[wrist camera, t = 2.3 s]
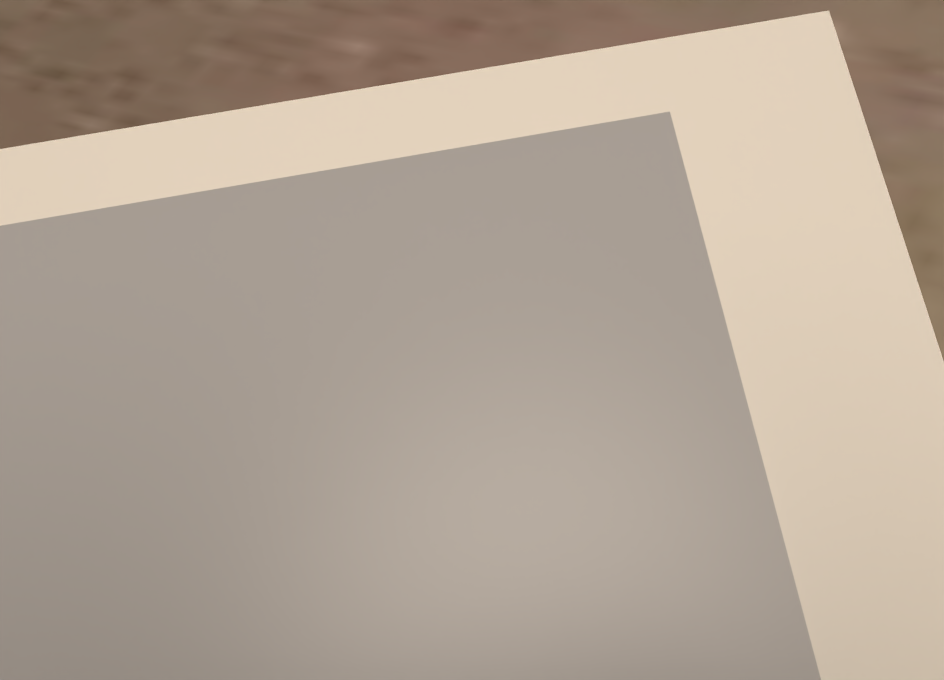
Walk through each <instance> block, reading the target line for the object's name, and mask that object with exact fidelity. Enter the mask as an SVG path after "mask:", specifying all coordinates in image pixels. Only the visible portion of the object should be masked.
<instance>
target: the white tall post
mask: <svg viewBox="0 0 944 680" xmlns="http://www.w3.org/2000/svg"><path fill="white" fill-rule="evenodd" d="M0 680H944V361H943V358H942V355H941V352H940V349H939V346H938V343H937V340H936V337H935V334H934V331H933V328H932V325H931V322H930V318H929V315H928V312H927V309H926V306H925V303H924V300H923V297H922V294H921V291H920V288H919V285H918V282H917V279H916V276H915V273H914V270H913V266H912V263H911V260H910V257H909V254H908V251H907V248H906V245H905V242H904V239H903V236H902V233H901V230H900V227H899V224H898V221H897V218H896V214H895V211H894V208H893V205H892V202H891V199H890V196H889V193H888V190H887V187H886V184H885V181H884V178H883V175H882V172H881V169H880V166H879V162H878V159H877V156H876V153H875V150H874V147H873V144H872V141H871V138H870V135H869V132H868V129H867V126H866V123H865V120H864V117H863V113H862V110H861V107H860V104H859V101H858V98H857V95H856V92H855V89H854V86H853V83H852V80H851V77H850V74H849V71H848V68H847V65H846V61H845V58H844V55H843V52H842V49H841V46H840V43H839V40H838V37H837V34H836V31H835V28H834V25H833V22H832V19H831V16H830V13H829V11H824V12H818V13H812V14H806V15H800V16H794V17H788V18H782V19H776V20H770V21H764V22H758V23H752V24H746V25H740V26H734V27H728V28H722V29H716V30H710V31H704V32H698V33H692V34H686V35H680V36H674V37H668V38H662V39H656V40H650V41H644V42H638V43H632V44H627V45H621V46H615V47H609V48H603V49H597V50H591V51H585V52H579V53H573V54H567V55H561V56H555V57H549V58H543V59H537V60H531V61H525V62H519V63H513V64H507V65H501V66H495V67H489V68H483V69H477V70H471V71H465V72H459V73H453V74H447V75H441V76H435V77H429V78H423V79H417V80H411V81H405V82H399V83H393V84H387V85H381V86H375V87H369V88H363V89H357V90H351V91H345V92H340V93H334V94H328V95H322V96H316V97H310V98H304V99H298V100H292V101H286V102H280V103H274V104H268V105H262V106H256V107H250V108H244V109H238V110H232V111H226V112H220V113H214V114H208V115H202V116H196V117H190V118H184V119H178V120H172V121H166V122H160V123H154V124H148V125H142V126H136V127H130V128H124V129H118V130H112V131H106V132H100V133H94V134H88V135H82V136H76V137H70V138H64V139H59V140H53V141H47V142H41V143H35V144H29V145H23V146H17V147H11V148H5V149H0Z"/></svg>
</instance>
